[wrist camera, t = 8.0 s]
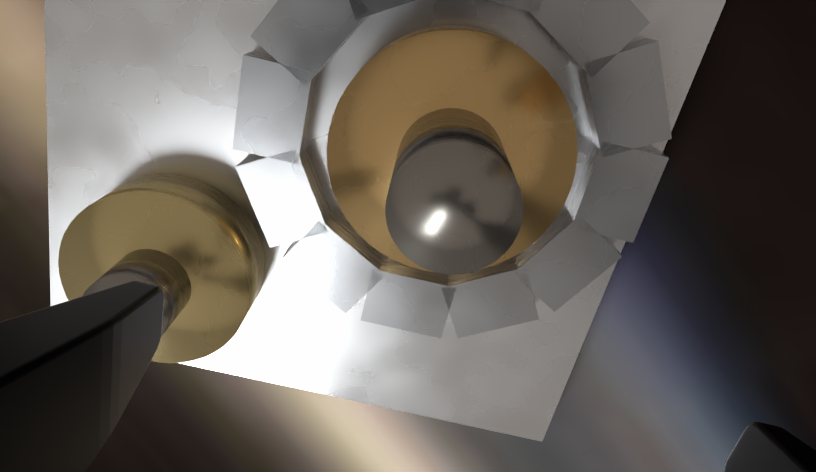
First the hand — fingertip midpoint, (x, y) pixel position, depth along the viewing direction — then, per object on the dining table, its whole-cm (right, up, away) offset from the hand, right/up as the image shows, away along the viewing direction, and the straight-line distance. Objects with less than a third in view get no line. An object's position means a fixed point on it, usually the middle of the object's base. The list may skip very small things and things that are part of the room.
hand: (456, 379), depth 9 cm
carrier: (-3, +4, +11) cm, 12 cm away
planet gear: (+1, +5, +10) cm, 11 cm away
